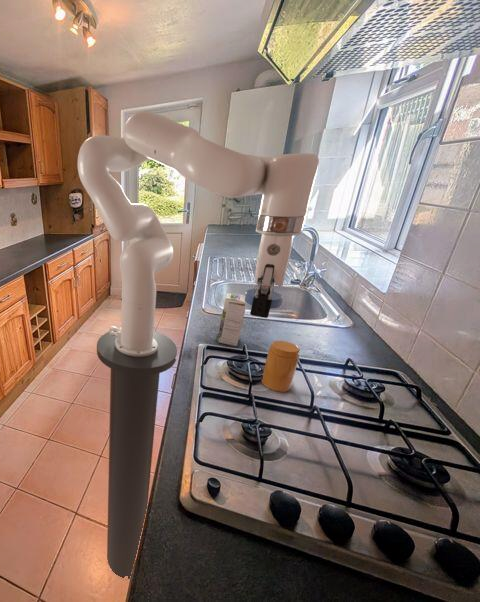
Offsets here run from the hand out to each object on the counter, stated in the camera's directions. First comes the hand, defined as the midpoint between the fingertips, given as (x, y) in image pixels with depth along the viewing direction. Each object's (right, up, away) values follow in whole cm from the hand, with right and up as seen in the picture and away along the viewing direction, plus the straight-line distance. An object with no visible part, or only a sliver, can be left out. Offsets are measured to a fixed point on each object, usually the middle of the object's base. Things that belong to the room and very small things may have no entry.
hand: (260, 309), depth 64 cm
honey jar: (+9, -18, +9) cm, 22 cm away
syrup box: (+7, -11, +29) cm, 31 cm away
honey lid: (0, +3, -1) cm, 3 cm away
